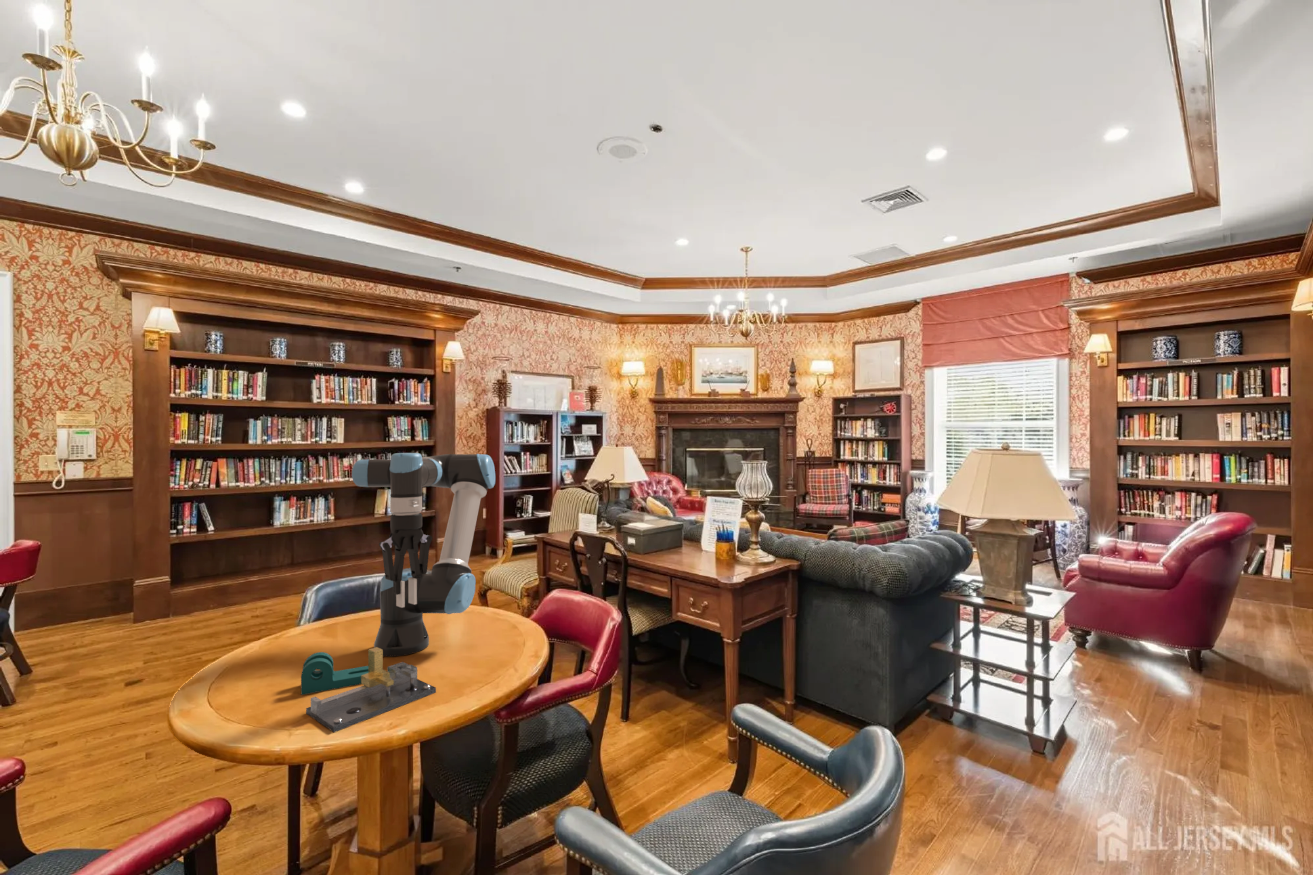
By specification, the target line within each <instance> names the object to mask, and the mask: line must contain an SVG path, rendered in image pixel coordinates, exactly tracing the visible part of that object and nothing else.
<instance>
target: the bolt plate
mask: <svg viewBox="0 0 1313 875" xmlns="http://www.w3.org/2000/svg"><path fill="white" fill-rule="evenodd" d="M435 693H437V687H435V686H434V685H432V684H430V683H428V682H425V681H423V680H421V679H418V678H417V679H416V680H414V689H410V681H408V682H405V683H402V684H399V685H397V686H394V687H391V688H390V696H389V697H386V689H385V690H383V691H380V692H377V693H374V694H372V695H369V696H366V697H363V698H360V699H358V700H355V701H352V702H349V703H346V704H344V705H341V706H338V707H335V708H333V709H330V710H327V711H324V712H321V714H319V715H315V714H314V713H312V712H311V706H309V707H306V708H305V714H306V715H307V716H308V717H311V718H312V719H314V720H315V721H316V722H318V723H320V724H321V725H322V726H324V727H325V728H327V729H328V730H330V731H331V732H333V733H336V732H338V731H341V730H345V729H347V728H349V727H350V726H353V725H356V724H359V723H361V722H364V721H366V720H369V719H371V718H374V717H376V716H380V715H382V714H384V713H387V712H389V711H392V710H394V709H397V708H399V707H403V706H405V705H407V704H410V703H412V702H416V701H417V700H420V699H422V698H425V697H428V696H430V695H433V694H435Z"/></svg>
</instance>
